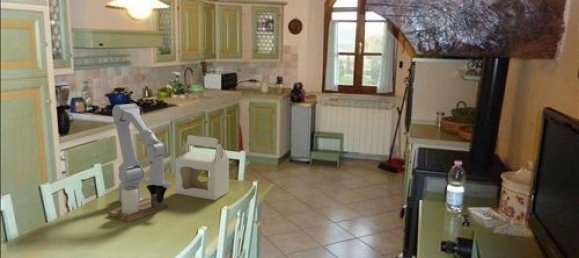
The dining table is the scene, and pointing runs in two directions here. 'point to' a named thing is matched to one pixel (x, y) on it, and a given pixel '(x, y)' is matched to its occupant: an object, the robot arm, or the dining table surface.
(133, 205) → the can
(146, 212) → the tan channel tray
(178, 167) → the gable box
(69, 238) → the dining table surface
